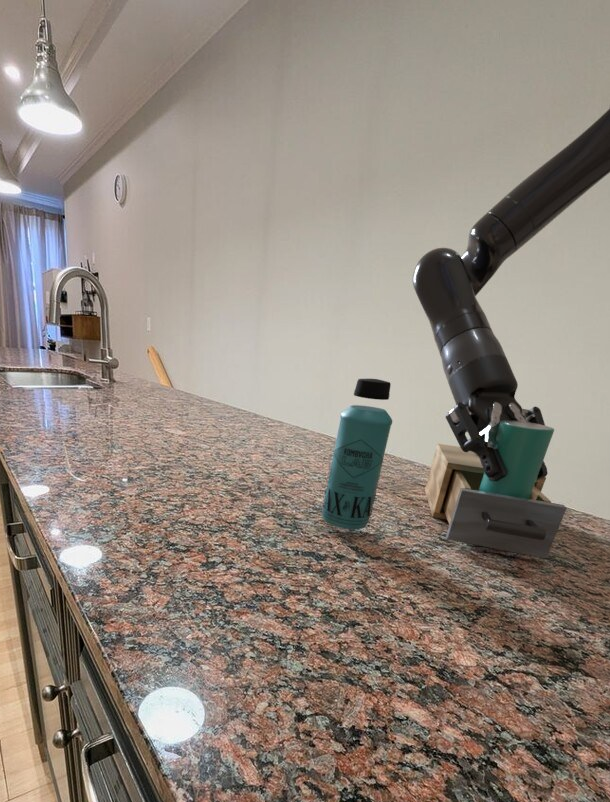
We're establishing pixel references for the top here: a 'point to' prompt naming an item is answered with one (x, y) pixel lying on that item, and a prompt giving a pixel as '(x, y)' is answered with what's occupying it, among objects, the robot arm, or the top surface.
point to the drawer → (500, 517)
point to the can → (519, 457)
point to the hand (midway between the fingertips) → (519, 478)
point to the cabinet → (443, 470)
